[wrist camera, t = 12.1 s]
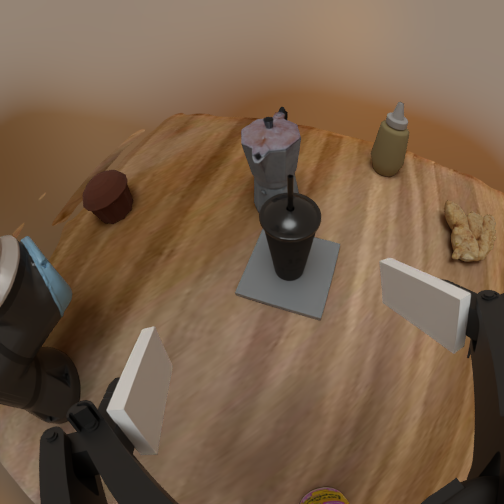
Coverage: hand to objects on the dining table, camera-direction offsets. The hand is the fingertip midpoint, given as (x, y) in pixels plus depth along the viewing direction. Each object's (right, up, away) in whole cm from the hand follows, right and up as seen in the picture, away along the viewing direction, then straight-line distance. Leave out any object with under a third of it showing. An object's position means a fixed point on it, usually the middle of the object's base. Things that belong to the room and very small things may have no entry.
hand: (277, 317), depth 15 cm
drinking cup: (+5, +1, +31) cm, 31 cm away
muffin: (-33, +13, +44) cm, 57 cm away
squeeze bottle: (+29, +23, +43) cm, 57 cm away
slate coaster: (+5, 0, +32) cm, 32 cm away
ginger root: (+43, +6, +31) cm, 53 cm away
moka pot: (+4, +13, +40) cm, 43 cm away
